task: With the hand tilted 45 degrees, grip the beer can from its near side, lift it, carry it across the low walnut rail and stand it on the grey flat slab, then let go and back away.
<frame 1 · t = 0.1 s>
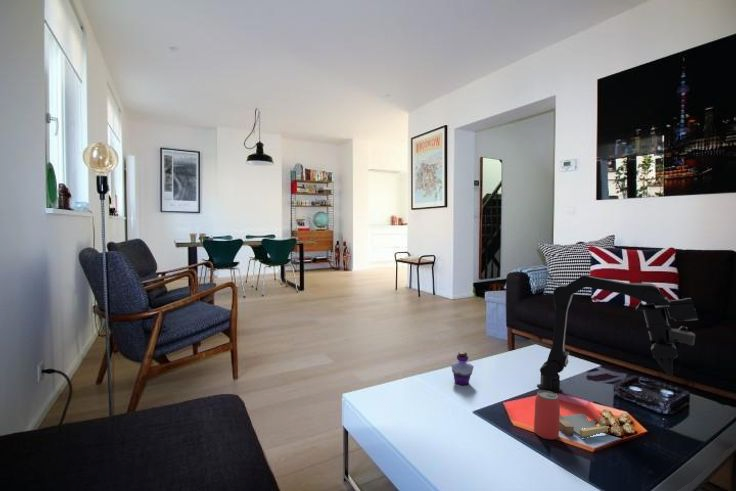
hand: (669, 371, 119), 15 cm above the table, tool pointing down, fingers open, 9 cm apart
beer can: (546, 434, 109), on the table
walnut rail: (557, 424, 115), on the table
potion bottle: (461, 383, 145), on the table
grey flat slab: (582, 426, 114), on the table
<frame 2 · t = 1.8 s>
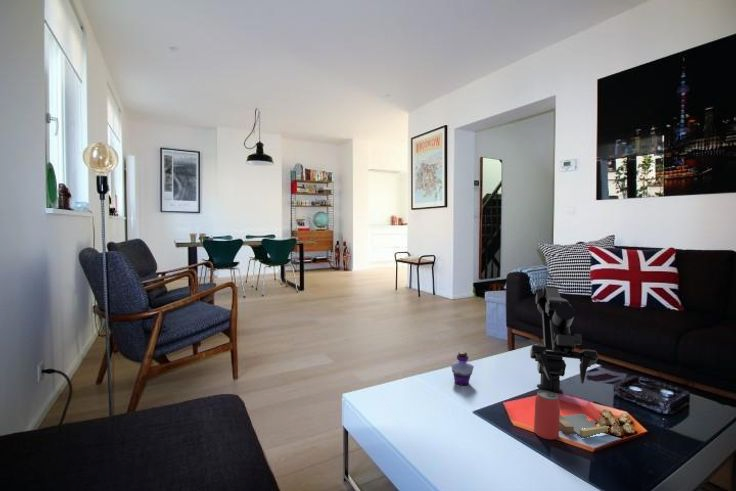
hand: (565, 381, 114), 14 cm above the table, tool tilted 40°, fingers open, 9 cm apart
nothing on the table moved.
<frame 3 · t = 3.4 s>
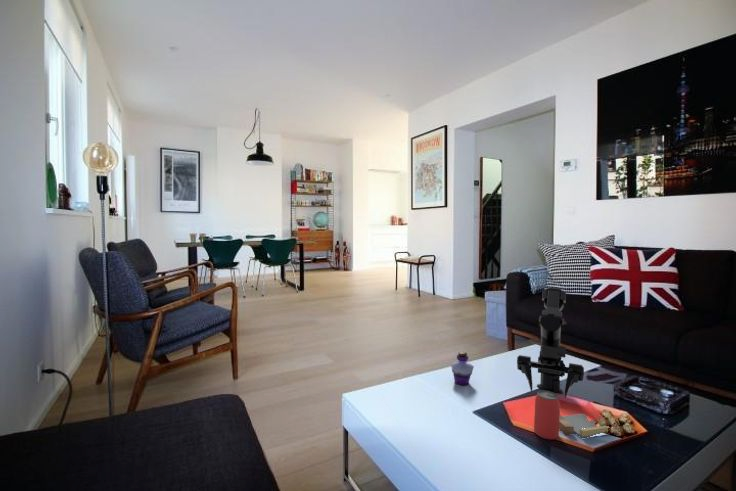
hand: (548, 393, 112), 11 cm above the table, tool tilted 45°, fingers open, 9 cm apart
nothing on the table moved.
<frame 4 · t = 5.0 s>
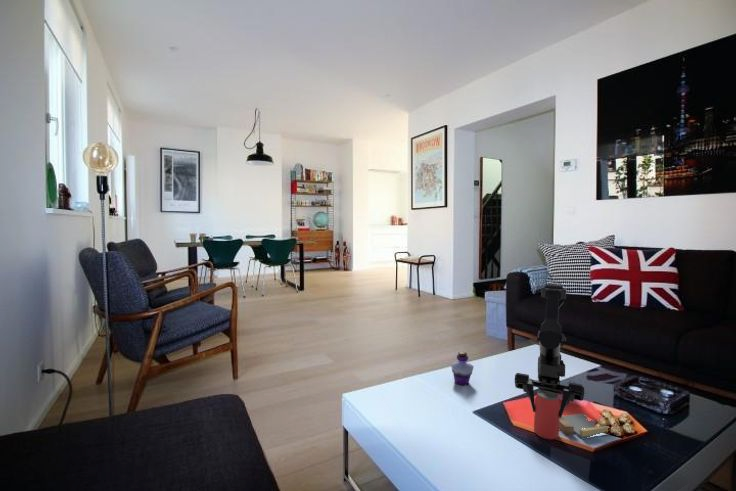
hand: (546, 414, 108), 7 cm above the table, tool tilted 45°, fingers closed on beer can, 7 cm apart
beer can: (546, 434, 109), on the table, touching gripper
everything else where it was.
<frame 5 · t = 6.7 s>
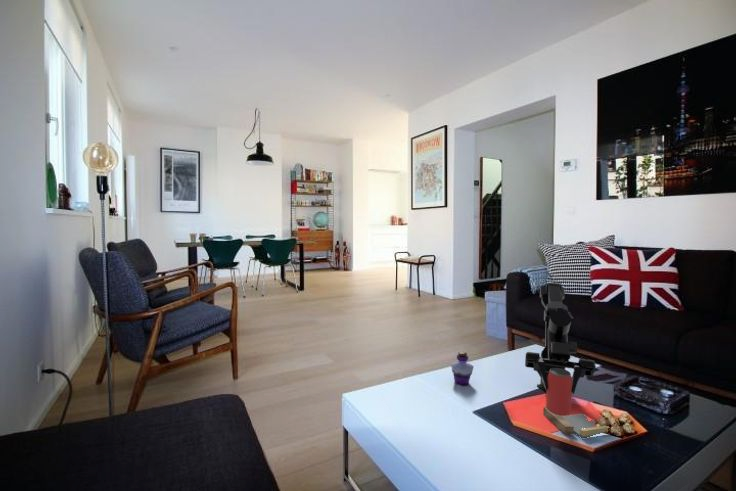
hand: (559, 391, 108), 13 cm above the table, tool tilted 45°, fingers closed on beer can, 7 cm apart
beer can: (558, 411, 110), point 6 cm above the table, touching gripper
everything else where it was.
when the fingers open (9 cm above the table, at t = 8.7 s): beer can drops 1 cm, resting on grey flat slab.
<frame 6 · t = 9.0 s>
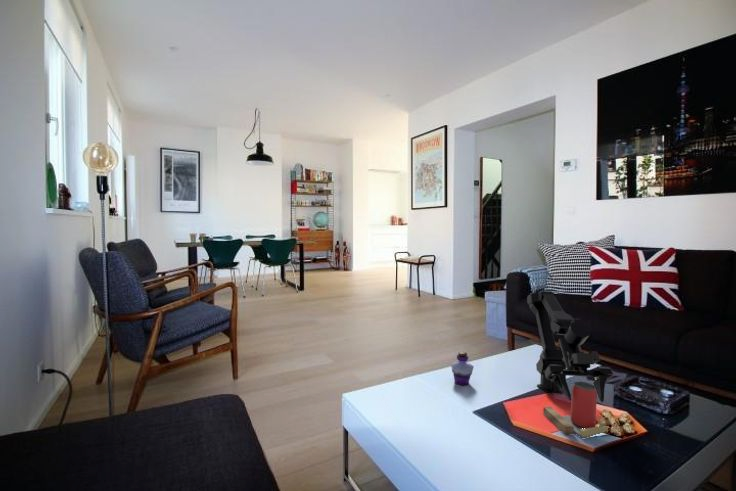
hand: (586, 400, 112), 9 cm above the table, tool tilted 45°, fingers open, 9 cm apart
beer can: (582, 424, 114), point 1 cm above the table, touching grey flat slab
everything else where it was.
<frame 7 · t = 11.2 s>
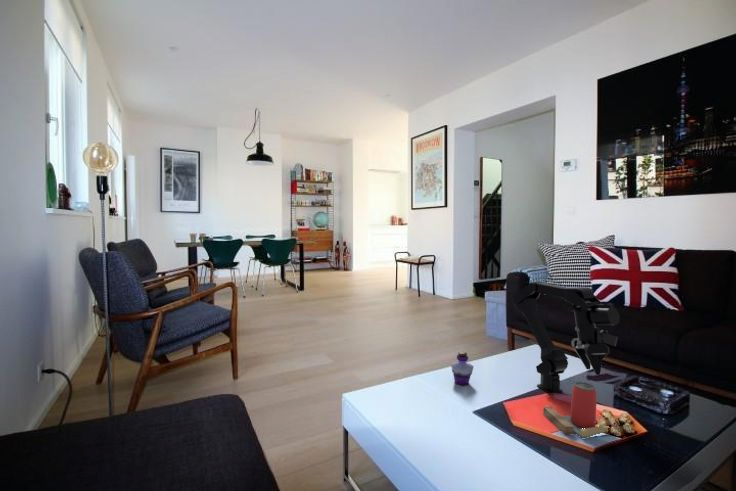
hand: (593, 371, 124), 13 cm above the table, tool pointing down, fingers open, 9 cm apart
nothing on the table moved.
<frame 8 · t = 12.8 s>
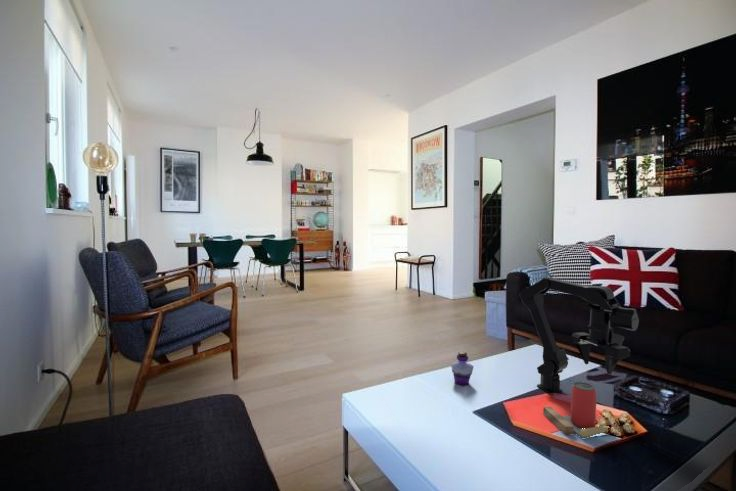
hand: (597, 369, 126), 13 cm above the table, tool pointing down, fingers open, 9 cm apart
nothing on the table moved.
at the end: beer can inside the target area on the grey flat slab (0.2 cm from its centre), point 0.6 cm above the grey flat slab's base; beer can tilted 0°; the gripper is holding nothing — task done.
